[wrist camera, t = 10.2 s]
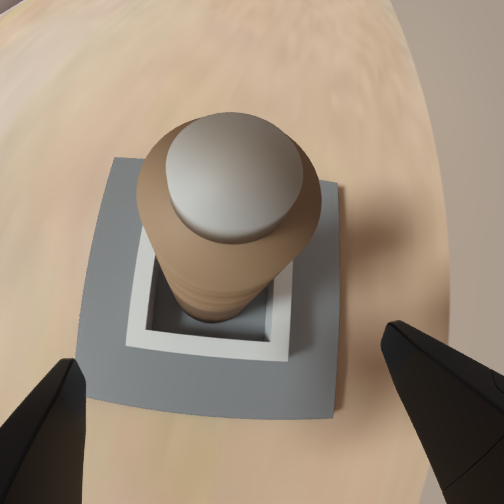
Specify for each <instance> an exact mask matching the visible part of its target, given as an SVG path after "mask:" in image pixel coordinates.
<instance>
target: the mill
mask: <svg viewBox="0 0 504 504" xmlns="http://www.w3.org/2000/svg"><path fill="white" fill-rule="evenodd" d="M136 199H137V207H138V212H139V215H140V219H141V222H142V224H143V226H144V229H145V231H146V234H147V236H148V238H149V241H150V243H151V246H152V248H153V250H154V252H155V255H156V257H157V259H158V262H159V264H160V266H161V268H162V271H163V273H164V275H165V277H166V279H167V282H168V284H169V286H170V288H171V290H172V292H173V295H174V297H175V299H176V301H177V303H178V305H179V306H180V308H181V309H182V310H183V311H184V312H185V313H186V314H187V315H188V316H190V317H191V318H193V319H195V320H197V321H200V322H203V323H210V324H214V323H221V322H225V321H227V320H229V319H231V318H233V317H234V316H236V315H237V314H238V313H239V312H240V311H241V310H242V309H243V308H244V307H245V306H246V305H248V304H249V303H250V302H251V301H252V300H253V299H254V298H255V297H256V296H257V295H258V294H259V293H260V292H261V291H262V290H263V289H264V288H265V287H266V286H267V285H268V284H269V283H270V282H271V281H272V280H273V279H274V278H275V277H276V276H277V275H278V274H279V273H280V272H281V271H282V270H283V269H284V268H285V267H286V266H287V265H288V264H289V263H290V262H291V261H292V260H293V259H294V258H295V257H296V256H297V255H298V254H299V253H300V252H301V251H302V250H303V249H304V248H305V247H306V245H307V244H308V243H309V241H310V240H311V238H312V236H313V234H314V232H315V231H316V228H317V225H318V222H319V219H320V214H321V207H322V195H321V187H320V183H319V179H318V176H317V174H316V171H315V168H314V167H313V165H312V163H311V161H310V159H309V158H308V156H307V155H306V154H305V152H304V151H303V150H302V149H301V148H300V146H299V145H298V144H297V143H296V142H295V141H293V140H292V139H291V138H290V137H289V136H288V135H286V134H285V133H284V132H282V131H281V130H280V129H279V128H278V127H276V126H275V125H273V124H272V123H270V122H268V121H266V120H264V119H261V118H259V117H256V116H253V115H249V114H244V113H235V112H225V113H217V114H212V115H208V116H206V117H202V118H198V119H195V120H192V121H189V122H186V123H184V124H182V125H180V126H178V127H176V128H175V129H173V130H172V131H170V132H169V133H167V134H166V135H165V136H164V137H163V138H162V139H160V140H159V141H158V142H157V144H156V145H155V146H154V147H153V148H152V150H151V151H150V152H149V154H148V155H147V157H146V159H145V161H144V163H143V165H142V167H141V170H140V173H139V176H138V182H137V191H136Z"/></svg>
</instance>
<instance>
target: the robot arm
mask: <svg viewBox="0 0 504 504" xmlns="http://www.w3.org/2000/svg"><path fill="white" fill-rule="evenodd" d="M381 350H382V353H383V355H384V358H385V361H386V363H387V366H388V369H389V371H390V374H391V377H392V380H393V382H394V385H395V388H396V390H397V392H398V394H399V396H400V398H401V401H402V403H403V405H404V407H405V409H406V411H407V413H408V415H409V417H410V420H411V422H412V424H413V426H414V428H415V430H416V433H417V435H418V437H419V439H420V441H421V444H422V446H423V448H424V450H425V453H426V455H427V457H428V459H429V462H430V464H431V466H432V469H433V471H434V473H435V476H436V478H437V481H438V483H439V485H440V488H441V490H442V493H443V496H444V498H445V501H446V503H447V504H504V376H503V375H501V374H499V373H497V372H495V371H494V370H491V369H489V368H488V367H486V366H484V365H483V364H481V363H479V362H477V361H475V360H473V359H472V358H470V357H468V356H466V355H464V354H462V353H460V352H459V351H457V350H455V349H453V348H451V347H449V346H448V345H446V344H444V343H442V342H440V341H438V340H436V339H434V338H433V337H431V336H429V335H427V334H425V333H423V332H421V331H420V330H418V329H416V328H414V327H412V326H410V325H408V324H406V323H405V322H403V321H401V320H397V321H392V322H389V323H388V324H387V325H386V328H385V331H384V334H383V337H382V340H381ZM85 435H86V380H85V377H84V375H83V373H82V371H81V369H80V367H79V365H78V363H77V361H76V360H75V359H73V358H63V359H61V360H59V362H58V363H57V364H56V365H55V366H54V367H53V368H52V369H51V370H50V371H49V372H48V373H47V375H46V376H45V377H44V378H43V379H42V380H41V381H40V382H39V383H38V385H37V386H36V387H35V388H34V389H33V390H32V391H31V392H30V393H29V395H28V396H27V397H26V398H25V399H24V400H23V401H22V403H21V404H20V405H19V406H18V407H17V408H16V410H15V411H14V412H13V413H12V414H11V415H10V417H9V418H8V419H7V420H6V421H5V422H4V424H3V425H2V426H1V427H0V504H82V479H83V461H84V448H85Z"/></svg>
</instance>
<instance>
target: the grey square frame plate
mask: <svg viewBox="0 0 504 504" xmlns="http://www.w3.org/2000/svg"><path fill="white" fill-rule="evenodd" d="M144 161H145V159H136V158H118V157H114V160H113V164H112V167H111V170H110V174H109V177H108V181H107V184H106V188H105V192H104V195H103V199H102V203H101V207H100V211H99V215H98V219H97V223H96V228H95V232H94V237H93V241H92V246H91V251H90V256H89V261H88V267H87V272H86V278H85V284H84V290H83V297H82V304H81V311H80V319H79V327H78V336H77V347H76V358H75V360H76V361H77V363H78V365H79V367H80V369H81V371H82V373H83V375H84V377H85V380H86V397H88V398H92V399H96V400H101V401H106V402H111V403H116V404H121V405H126V406H132V407H137V408H144V409H150V410H157V411H164V412H171V413H179V414H188V415H198V416H209V417H222V418H238V419H267V420H300V419H328V418H333V413H334V402H335V390H336V375H337V359H338V338H339V306H340V237H339V205H338V184H337V183H335V182H329V181H323V180H319V183H320V187H321V195H322V207H321V214H320V219H319V222H318V225H317V228H316V231H315V232H314V234H313V236H312V238H311V240H310V241H309V243H308V244H307V245H306V247H305V248H304V249H303V250H302V251H301V252H300V253H299V254H298V255H297V256H296V257H295V258H294V259H293V260H292V261H291V262H290V263H289V264H288V265H287V266H286V267H285V268H284V269H283V270H282V271H281V272H280V273H279V274H278V275H277V276H276V277H275V278H274V279H273V280H272V281H271V282H270V283H269V284H268V285H267V286H266V287H265V288H264V289H263V290H262V291H261V292H260V293H259V294H258V295H257V296H256V297H255V298H254V299H253V300H252V301H251V302H250V303H249V304H248V305H246V306H245V307H244V308H243V309H242V310H241V311H240V312H239V313H238V314H237V315H236V316H234V317H233V318H231V319H229V320H227V321H225V322H221V323H214V324H210V323H203V322H200V321H197V320H195V319H193V318H191V317H190V316H188V315H187V314H186V313H185V312H184V311H183V310H182V309H181V308H180V306H179V305H178V303H177V301H176V299H175V297H174V295H173V292H172V290H171V288H170V286H169V284H168V282H167V279H166V277H165V275H164V273H163V271H162V268H161V266H160V264H159V262H158V259H157V257H156V255H155V252H154V250H153V248H152V246H151V243H150V241H149V238H148V236H147V234H146V231H145V229H144V226H143V224H142V222H141V219H140V215H139V212H138V207H137V199H136V191H137V182H138V176H139V173H140V170H141V167H142V165H143V163H144Z"/></svg>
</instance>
